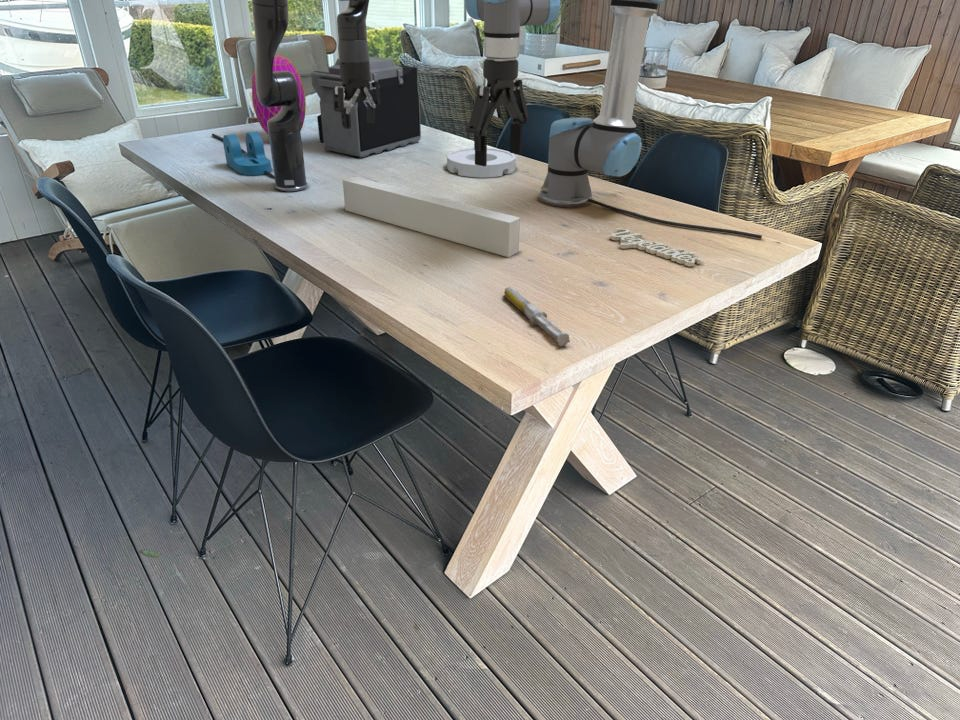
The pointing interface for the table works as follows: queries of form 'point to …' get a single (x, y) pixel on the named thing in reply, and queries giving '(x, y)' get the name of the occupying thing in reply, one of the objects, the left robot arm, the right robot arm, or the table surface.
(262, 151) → the camera mount
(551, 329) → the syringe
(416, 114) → the electronic device
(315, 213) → the table surface
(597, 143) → the right robot arm
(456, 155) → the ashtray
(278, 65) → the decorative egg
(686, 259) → the decorative sign
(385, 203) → the bar
